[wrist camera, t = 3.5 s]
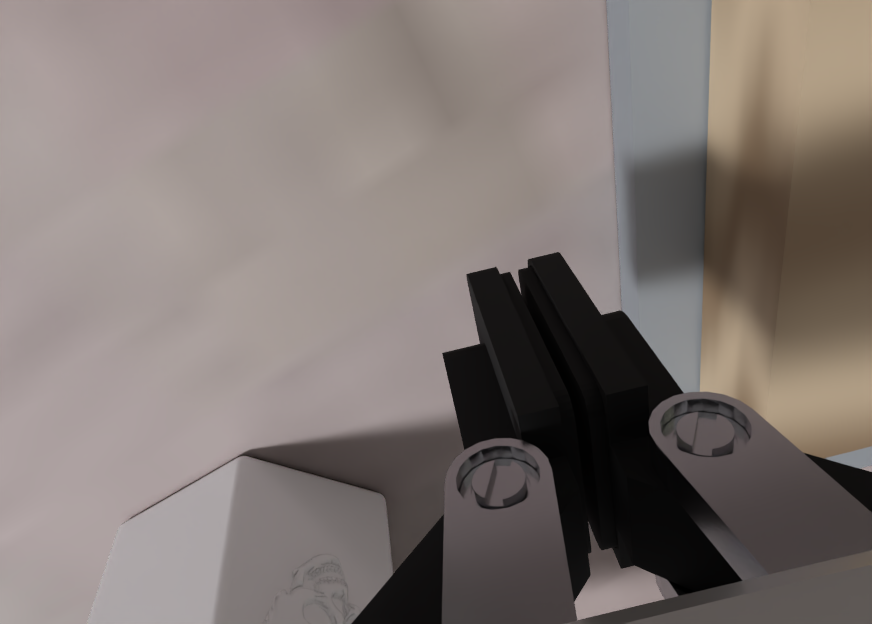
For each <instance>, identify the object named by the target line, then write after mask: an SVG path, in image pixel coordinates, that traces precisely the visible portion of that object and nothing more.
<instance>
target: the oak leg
mask: <svg viewBox="0 0 872 624" xmlns="http://www.w3.org/2000/svg"><path fill="white" fill-rule="evenodd" d="M700 392H712V393H719V394H724V395H727V396H730V397H732V398H735V399H738V400H740V401H742V402H743V403H745V404H746V405H748V406H749V407H751V408H752V409H753V410H755V411H756V412H757V413H758V414H759V415H760V416H762V417H763V418H764V419H765V420H766V421H767V422H768V423H770V424H771V425H772V426H773V427H774V428H775V429H776V430H778V431H779V432H780V433H781V434H782V435H783V436H784V437H786V438H787V439H788V440H789V441H790V442H791V443H793V444H794V445H795V446H796V447H797V448H798V449H799V450H801V451H802V452H803V453H807V454H810V455H814V456H817V457H821V458H828V457H832V456H835V455H839V454H843V453H847V452H851V451H855V450H859V449H863V448H867V447H871V446H872V0H712V9H711V42H710V74H709V107H708V139H707V172H706V204H705V237H704V269H703V302H702V334H701V367H700Z"/></svg>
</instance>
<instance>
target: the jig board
mask: <svg viewBox="0 0 872 624" xmlns="http://www.w3.org/2000/svg"><path fill="white" fill-rule="evenodd" d="M606 4H607V24H608V44H609V63H610V83H611V103H612V123H613V143H614V162H615V182H616V202H617V222H618V241H619V261H620V281H621V301H622V311H623V312H624V313H625V314H626V315H627V316H628V317H629V319H630V320H631V321H632V323H633V324H634V325H635V327H636V328H637V330H638V331H639V332H640V334H641V335H642V336H643V338H644V339H645V341H646V342H647V343H648V345H649V346H650V347H651V349H652V350H653V351H654V353H655V354H656V356H657V357H658V358H659V360H660V361H661V362H662V364H663V365H664V367H665V368H666V369H667V371H668V372H669V373H670V375H671V376H672V377H673V379H674V380H675V382H676V383H677V384H678V386H679V387H680V388H681V390H682V391H683V393H688V392H700V367H701V334H702V302H703V269H704V237H705V204H706V172H707V139H708V107H709V74H710V42H711V9H712V0H606ZM827 459H828V460H831V461H835V462H838V463H841V464H845V465H848V466H852V467H855V468H863V467H867V466H871V465H872V446H871V447H867V448H863V449H859V450H855V451H851V452H847V453H843V454H839V455H835V456H832V457H828V458H827Z"/></svg>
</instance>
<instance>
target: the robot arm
mask: <svg viewBox="0 0 872 624" xmlns="http://www.w3.org/2000/svg"><path fill="white" fill-rule="evenodd" d="M518 275H519V282H520V288H521V294H520V291H519V289H518V287H517V285H516V283H515V281H514V279H513V277H512V275H511V273H510V272H508V273H503V274H500V273H499V271H498V269H497V267H494V268H490V269H486V270H482V271H477V272H473V273H469V274H467V281H468V287H469V291H470V296H471V301H472V306H473V311H474V316H475V321H476V326H477V331H478V336H479V340H480V344H478V345H474V346H470V347H466V348H462V349H457V350H453V351H449V352H445V353H442V354H443V358H444V362H445V367H446V371H447V376H448V380H449V384H450V389H451V393H452V397H453V402H454V406H455V410H456V415H457V419H458V423H459V428H460V432H461V436H462V441H463V445H464V451H463V452H462V453H461V454H460V455H458V456H457V457H456V458H455V459H454V461H453V462H452V464H451V465H450V467H449V468H448V470H447V474H446V479H445V492H444V515H443V516H442V517H441V518H440V519H439V521H438V522H437V523H436V524H435V525H434V527H433V528H432V529H431V530H430V531H429V532H428V534H427V535H426V536H425V537H424V538H423V540H422V541H421V542H420V543H419V544H418V545H417V547H416V548H415V549H414V550H413V551H412V553H411V554H410V555H409V556H408V557H407V558H406V560H405V561H404V562H403V563H402V564H401V566H400V567H399V568H398V569H397V570H396V571H395V573H394V574H393V575H392V576H391V577H390V578H389V580H388V581H387V582H386V583H385V584H384V586H383V587H382V588H381V589H380V590H379V591H378V593H377V594H376V595H375V596H374V597H373V599H372V600H371V601H370V602H369V603H368V604H367V606H366V607H365V608H364V609H363V610H362V612H361V613H360V614H359V615H358V616H357V617H356V619H355V620H354V621H353V622H352V623H351V624H872V472H869V471H866V470H862V469H859V468H855V467H852V466H848V465H845V464H841V463H838V462H835V461H831V460H828V459H824V458H821V457H817V456H814V455H810V454H807V453H803V452H802V451H801V450H799V449H798V448H797V447H796V446H795V445H794V444H793V443H791V442H790V441H789V440H788V439H787V438H786V437H784V436H783V435H782V434H781V433H780V432H779V431H778V430H776V429H775V428H774V427H773V426H772V425H771V424H770V423H768V422H767V421H766V420H765V419H764V418H763V417H762V416H760V415H759V414H758V413H757V412H756V411H755V410H753V409H752V408H751V407H749V406H748V405H746V404H745V403H743V402H742V401H740V400H738V399H735V398H732V397H730V396H727V395H724V394H719V393H712V392H688V393H683V391H682V390H681V388H680V387H679V386H678V384H677V383H676V382H675V380H674V379H673V377H672V376H671V375H670V373H669V372H668V371H667V369H666V368H665V367H664V365H663V364H662V362H661V361H660V360H659V358H658V357H657V356H656V354H655V353H654V351H653V350H652V349H651V347H650V346H649V345H648V343H647V342H646V341H645V339H644V338H643V336H642V335H641V334H640V332H639V331H638V330H637V328H636V327H635V325H634V324H633V323H632V321H631V320H630V319H629V317H628V316H627V315H626V314H625V313H624V312H623V311H616V312H612V313H608V314H604V315H601V314H600V312H599V311H598V309H597V308H596V306H595V305H594V303H593V302H592V300H591V299H590V297H589V296H588V294H587V293H586V291H585V290H584V288H583V287H582V285H581V284H580V282H579V281H578V279H577V278H576V276H575V275H574V273H573V272H572V270H571V269H570V267H569V266H568V264H567V263H566V261H565V260H564V258H563V257H562V255H561V254H560V253H559V252H557V253H553V254H549V255H544V256H540V257H536V258H532V259H528V268H524V269H520V270H519V271H518ZM521 295H522V296H521ZM588 521H589V524H590V526H591V529H592V531H593V534H594V536H595V538H596V541H597V543H598V545H599V547H600V549H601V550H604V549H608V548H613V551H614V553H615V555H616V558H617V560H618V562H619V565H620V567H621V568H626V567H630V566H634V565H635V566H637V567H640V568H642V569H644V570H646V571H649V572H651V573H653V574H655V575H656V583H657V585H658V587H659V590H660V592H661V594H662V596H663V597H664V599H665V600H660V601H656V602H652V603H648V604H644V605H639V606H635V607H631V608H627V609H623V610H619V611H614V612H610V613H606V614H602V615H598V616H594V617H590V618H586V619H581V620H577V616H576V610H575V604H574V601H575V600H576V598H577V596H578V595H579V593H580V591H581V590H582V588H583V586H584V585H585V583H586V581H587V580H588V578H589V577H590V567H589V559H588V553H591V543H590V535H589V527H588Z"/></svg>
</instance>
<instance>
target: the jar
mask: <svg viewBox="0 0 872 624" xmlns="http://www.w3.org/2000/svg"><path fill="white" fill-rule="evenodd" d="M392 575H393V565H392V556H391V546H390V536H389V526H388V516H387V506H386V500H385V498H384V496H383V495H382V494H380V493H377V492H374V491H370V490H367V489H363V488H360V487H356V486H352V485H349V484H345V483H342V482H338V481H334V480H331V479H327V478H324V477H320V476H316V475H313V474H309V473H306V472H302V471H299V470H295V469H291V468H288V467H284V466H281V465H277V464H273V463H270V462H266V461H263V460H259V459H255V458H252V457H248V456H240V457H237V458H236V459H234V460H232V461H231V462H229V463H227V464H225V465H224V466H222V467H220V468H219V469H217V470H215V471H213V472H212V473H210V474H208V475H206V476H205V477H203V478H201V479H199V480H198V481H196V482H194V483H193V484H191V485H189V486H187V487H186V488H184V489H182V490H180V491H179V492H177V493H175V494H173V495H172V496H170V497H168V498H166V499H165V500H163V501H161V502H159V503H158V504H156V505H154V506H152V507H151V508H149V509H147V510H145V511H144V512H142V513H140V514H138V515H137V516H135V517H133V518H131V519H129V520H128V521H126V522H124V523H123V524H121V525H120V527H119V528H118V530H117V533H116V536H115V539H114V542H113V545H112V548H111V551H110V554H109V557H108V560H107V563H106V566H105V569H104V572H103V575H102V578H101V581H100V584H99V588H98V591H97V594H96V597H95V600H94V603H93V606H92V609H91V612H90V615H89V618H88V621H87V624H351V623H352V622H353V621H354V620H355V619H356V617H357V616H358V615H359V614H360V613H361V612H362V610H363V609H364V608H365V607H366V606H367V604H368V603H369V602H370V601H371V600H372V599H373V597H374V596H375V595H376V594H377V593H378V591H379V590H380V589H381V588H382V587H383V586H384V584H385V583H386V582H387V581H388V580H389V578H390V577H391V576H392Z"/></svg>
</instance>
